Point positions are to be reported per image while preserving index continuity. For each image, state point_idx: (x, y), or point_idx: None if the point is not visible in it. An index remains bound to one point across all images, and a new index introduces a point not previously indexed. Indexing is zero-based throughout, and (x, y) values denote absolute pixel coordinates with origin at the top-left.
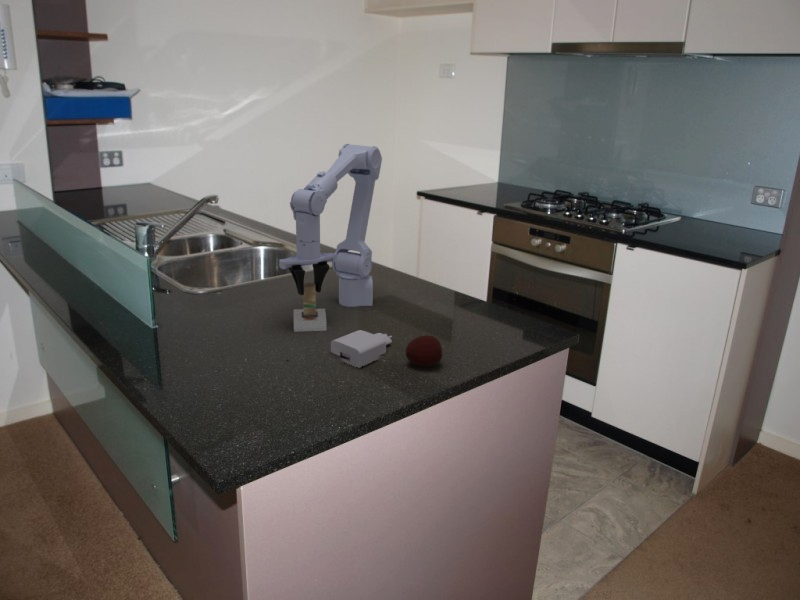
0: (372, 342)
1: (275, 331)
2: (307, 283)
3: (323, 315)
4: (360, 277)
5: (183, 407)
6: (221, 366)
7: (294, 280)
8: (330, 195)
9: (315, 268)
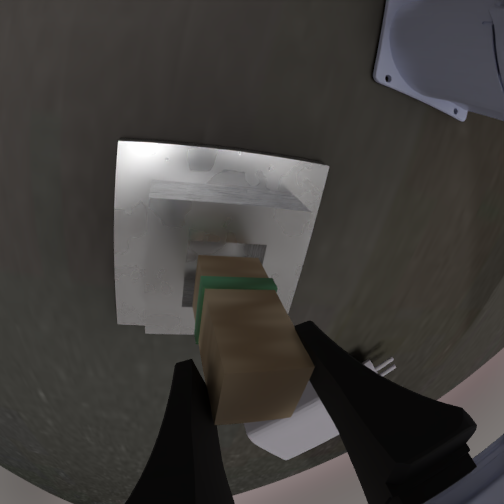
0: (329, 438)
1: (77, 244)
2: (260, 373)
3: (280, 291)
4: None
5: (22, 467)
6: (8, 405)
7: (158, 436)
8: None
9: (370, 462)
